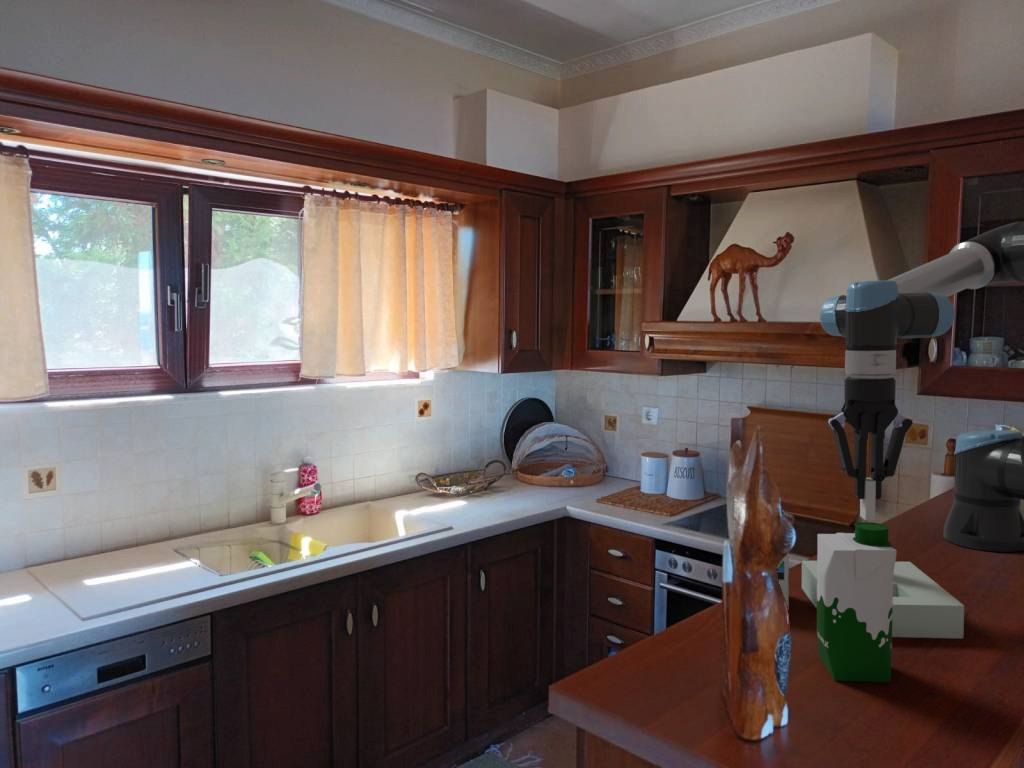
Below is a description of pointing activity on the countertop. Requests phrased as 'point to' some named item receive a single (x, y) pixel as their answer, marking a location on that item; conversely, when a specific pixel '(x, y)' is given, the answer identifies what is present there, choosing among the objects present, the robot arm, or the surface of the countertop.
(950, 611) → the board
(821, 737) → the countertop surface
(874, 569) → the milk carton
